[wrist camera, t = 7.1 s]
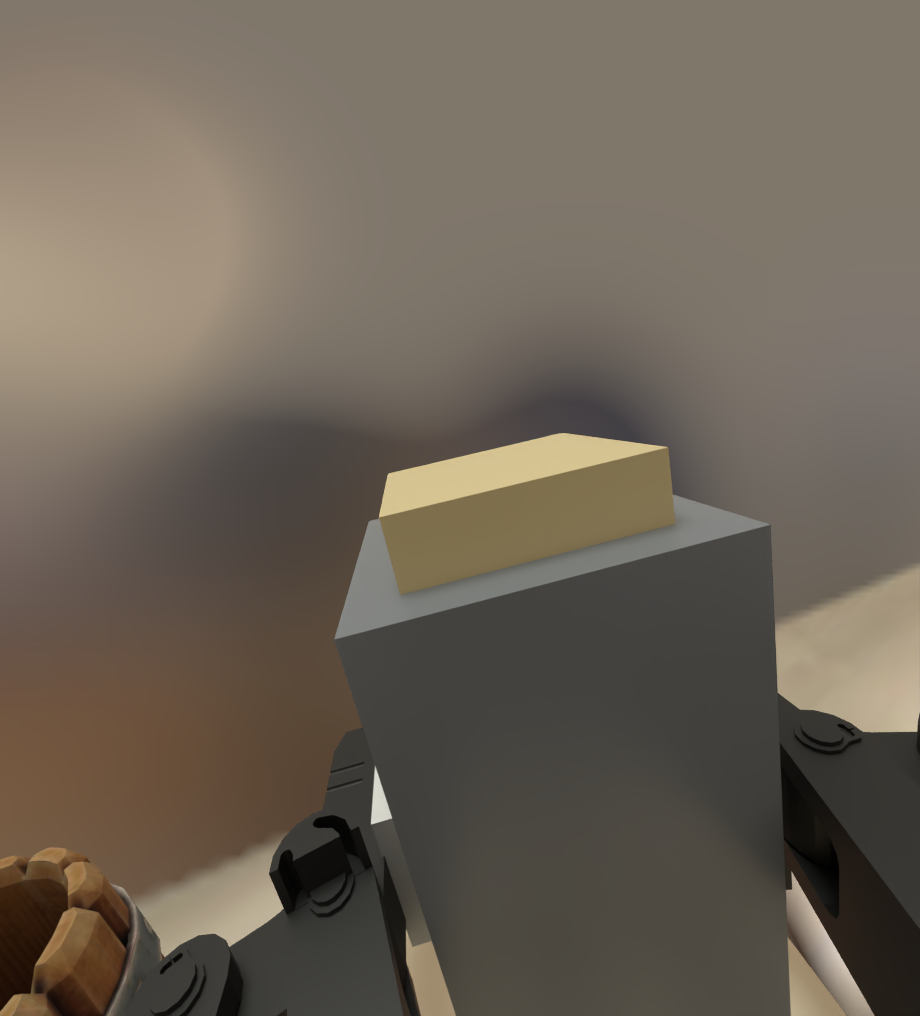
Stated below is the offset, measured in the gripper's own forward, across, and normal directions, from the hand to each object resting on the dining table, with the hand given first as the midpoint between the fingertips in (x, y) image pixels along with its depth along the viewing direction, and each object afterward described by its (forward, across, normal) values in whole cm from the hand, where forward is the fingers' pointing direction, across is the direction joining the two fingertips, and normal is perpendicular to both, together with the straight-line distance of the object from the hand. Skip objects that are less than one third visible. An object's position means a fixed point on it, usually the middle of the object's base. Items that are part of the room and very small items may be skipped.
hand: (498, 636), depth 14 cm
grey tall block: (-5, 0, -7) cm, 9 cm away
